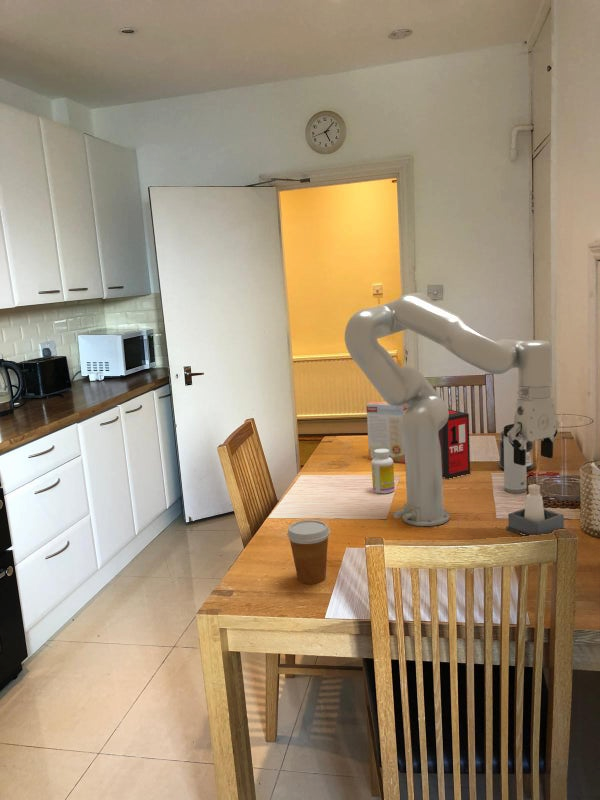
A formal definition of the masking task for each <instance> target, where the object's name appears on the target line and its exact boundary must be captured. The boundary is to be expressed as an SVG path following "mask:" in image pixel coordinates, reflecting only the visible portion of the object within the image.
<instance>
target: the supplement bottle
mask: <svg viewBox="0 0 600 800" xmlns="http://www.w3.org/2000/svg"><path fill="white" fill-rule="evenodd" d="M389 454H390V452H389V450H388V449H376V450H374V455H375V458H374V459H372V460H371V462H370V463H371V476H372V478H371V479H372V480H371V481H372V490H373V492H374V493H377V494H380V493H382V494H383V493H384V495H385V493H386V494H390V493H393V492H394V491H395V488H396V487H395V475H394V473H395V470H394V462H393V460H392V458H390V457H389Z"/></svg>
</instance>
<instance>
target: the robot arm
mask: <svg viewBox="0 0 600 800" xmlns="http://www.w3.org/2000/svg"><path fill="white" fill-rule="evenodd" d="M406 330H410V331H412V332H413V333H416V334H417V335H419V336H421V337H424V338H426V339H428V340H430V341H432V342H434V343H436V344H438V345H440V346H441V347H443V348H444V349H445V350H447V351H448V352H450V353H452V354H453V355H455V357H457V358H459V359H460V360H462V361H464V362H465V363H467V364H470V365H471V366H473V367H476V368H478V369H479V370H481V371H483V372H486V373H489V374H493V375H502V374H505V373H507V372H508V371H510V370H512V369H517V368H518V370H517V371H518V376H517V377H518V379H517V380H518V382H517V400H516V405H515V409H514V420H513V421H514V422H513V424H514V427H513V428H512V429H511V430H510V431H509V432H508V433H507V436H508V439H509V443H510V444H511V445H512V448H514V463H515V464H518V465H522V466H524V465H525V464H526V450H525V449H524V447H525V445H526V443H527V442H528V441H532V442H536V441H540V440H541V441H540V456H541V457H543V458H548V459H552V458H553V455H554V442H555V441H556V438H555V437H556V436H557V434H558V430H559V427H560V425H561V424H560V421H557V420H556V409H555V401H554V397H553V396H552V372H553V371H552V370H553V369H552V366H553V365H552V364H553V346H552V344H551V342H550V341H547V340H539V339H533V340H531V339H530V340H517V339H511V338H510V339H509V338H501V339H498V340H493V339H491V338H489V337H486V336H484V335H482V334H481V333H478V332H477V331H475V330H473V328H470V327H469V326H468V325H467V324H466V322H465V321H464V320H463V318H462V317H461V316H460V315H459V314H457V313H455V312H452V311H450V310H449V309H446V308H444V307H442V306H439V305H438V304H435V303H434V302H433V300H432V299H431V298H430V297H429V296H428V295H426V294H425V293H422V292H412V293H407V294H406V293H405V294H403V295H401V296H400V297H399V298H397V299H396V300H393V301H390V302H387V303H384V304H382V305H377V306H373V307H367V308H362V309H360V310H358V311H357V312H355V313H354V314H352V316H351V317H350V318H349V320H348V322H347V324H346V326H345V331H344V342H345V347H346V350H347V352H348V354H349V356H350V357H351V358H352V360H353V361H354V362H355V364H356V365H357V366H358V368H359V369H360V370H361V371H362V372H363V373H364V375H365V376H366V378H367V380H368V381H369V382H370V383H371V385H372V386H373V387H374V389H375V390H376V391H377V392H378V394H379V395H380V397H381V398H382V399H383V400H384V401H386V402H387V403H388V404H390V405H392V406H401V405H405V406H406V407H407V408H408V409H407V410H406V412H405V413H404V415H403V417H402V422H401V430H402V436H403V441H404V449H405V463H404V465H405V484H406V488H405V489H406V502H405V503H403V507H402V508H401V509H398V510H394V511H393V512H392V515H393V518H394V519H399V518H401V519H402V521H403V522H405V523H407V524H408V525H412V526H416V527H418V526H419V527H433V526H439V525H443V524H445V523H447V522H448V521H449V520H450V512H449V511H447V510H446V509H445V508H444V495H443V494H444V493H443V489H444V486H443V477H442V459H441V446H440V441H439V430H440V429H442V428H443V427H444V426H445V424H446V423H447V421H448V417H449V412H448V409H449V408H448V406H447V404H446V403H445V400H444V399H442V397H441V396H440V394H439V393H438V392H437V391H436V389H435V388H434V387H433V385H432V384H431V383H430V382H429V380H428V379H427V378H426V377H425V376H424V374H422V372H420V371H419V370H418V369H417V368H415V367H412V366H406V365H405V366H400V365H399V364H398V363H397V362H396V360H395V359H394V358H393V356H392V355H391V353H390V352H389V351H388V350H387V349H385V348H384V347H383V346H382V345H381V344H380V343H379V341H378V339H382V338H384V337H387V336H390V335H393V334H396V333H399V332H403V331H406ZM520 440H522V442H521V444H520V443H519V441H520Z"/></svg>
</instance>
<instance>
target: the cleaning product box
mask: <svg viewBox="0 0 600 800" xmlns="http://www.w3.org/2000/svg"><path fill="white" fill-rule="evenodd" d="M448 412H449V417H448V421H447V423H446V424H445V426H444V427H443V428H442V429H440V430H439V441H440V446H441V459H442V478H443V477H445V478H444V479H446V478H448V479H447V480H450V479H449V478H452V479H454V478H453V477H456V478H458V477H457V476H461V475H465V476H467V475H466V474H469V475H471V458H470V457H471V454H470V453H471V452H470V451H471V450H470V448H471V447H470V416H469V415H470V413H467V412H463V411H458V410H454V409H449V408H448ZM461 477H462V476H461Z"/></svg>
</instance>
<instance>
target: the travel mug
mask: <svg viewBox="0 0 600 800" xmlns="http://www.w3.org/2000/svg"><path fill="white" fill-rule="evenodd" d="M513 427H514V423H511V424H507V425H505V426H503V431H504V469H503V476H504V477H503V481H504V483H503V486H504V489H503V490H504V491H505V492H507V493H509V494H522V493H525V492H526V491H527V490H528V488H527V487H528V485H527V481H528V480H527V471H526V464H525V465H524V466H522V465H518V464H515V463H514V448H512V445H511V444H510V443H509V439H508V436H507V433H508V432H509V431H510V430H511V429H512V428H513ZM521 442H522V440H520V441H519V443H520V444H521ZM524 449H525V450H526V445H525V447H524ZM526 489H527V490H526Z"/></svg>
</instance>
